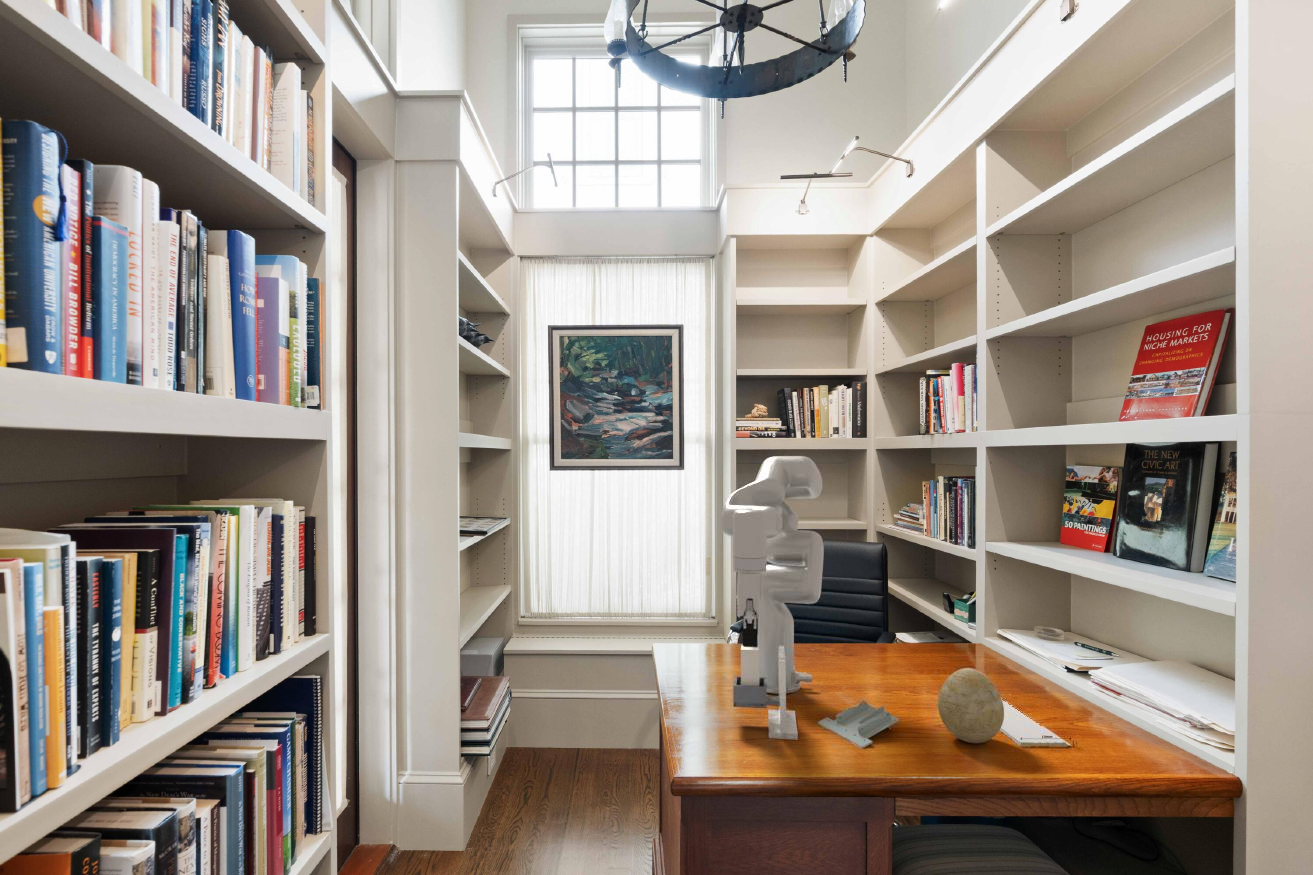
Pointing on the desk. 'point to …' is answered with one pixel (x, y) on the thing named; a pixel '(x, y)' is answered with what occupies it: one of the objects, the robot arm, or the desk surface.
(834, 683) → the desk surface
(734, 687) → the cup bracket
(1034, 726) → the baseboard
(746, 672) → the cream rectangular beam
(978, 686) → the fossilized egg
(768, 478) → the robot arm
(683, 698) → the desk surface
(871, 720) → the metal bracket
